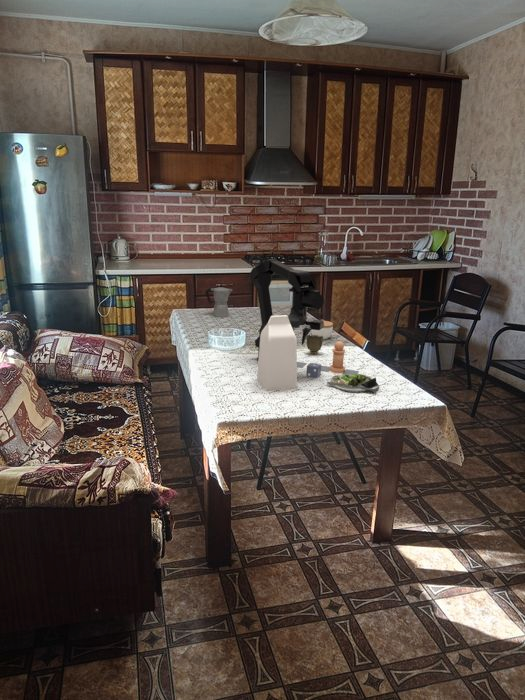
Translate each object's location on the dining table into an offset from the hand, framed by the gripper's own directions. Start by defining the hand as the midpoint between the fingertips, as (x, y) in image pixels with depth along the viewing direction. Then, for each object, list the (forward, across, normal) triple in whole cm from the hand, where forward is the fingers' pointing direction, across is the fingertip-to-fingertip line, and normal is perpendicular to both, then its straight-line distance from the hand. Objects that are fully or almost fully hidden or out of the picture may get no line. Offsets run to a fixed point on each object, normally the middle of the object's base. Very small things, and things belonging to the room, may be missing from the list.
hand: (297, 343), depth 209 cm
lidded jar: (+12, -6, +56) cm, 57 cm away
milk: (+12, -3, -15) cm, 20 cm away
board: (+12, +9, +10) cm, 18 cm away
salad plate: (+13, +25, -3) cm, 28 cm away
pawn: (+12, +14, +10) cm, 21 cm away
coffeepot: (+12, -71, +74) cm, 104 cm away
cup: (+12, -1, +28) cm, 31 cm away
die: (+12, +7, 0) cm, 14 cm away
